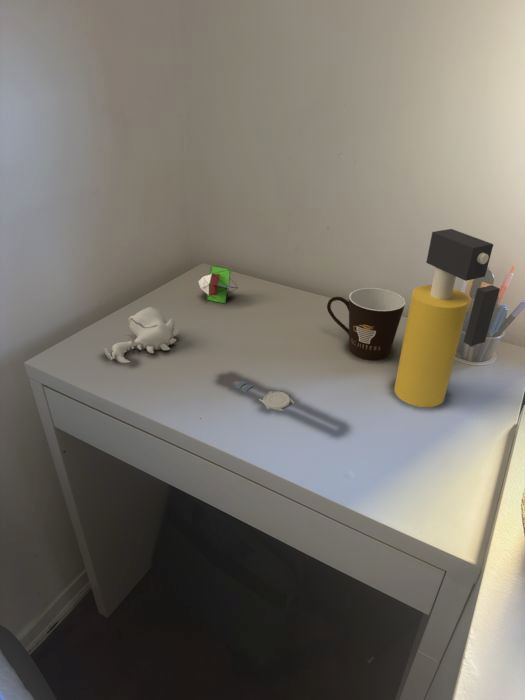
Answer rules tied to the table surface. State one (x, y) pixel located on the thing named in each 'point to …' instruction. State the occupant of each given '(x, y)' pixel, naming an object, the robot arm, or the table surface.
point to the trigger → (481, 315)
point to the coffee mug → (371, 321)
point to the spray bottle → (438, 318)
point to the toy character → (146, 334)
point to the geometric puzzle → (216, 284)
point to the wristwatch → (271, 398)
